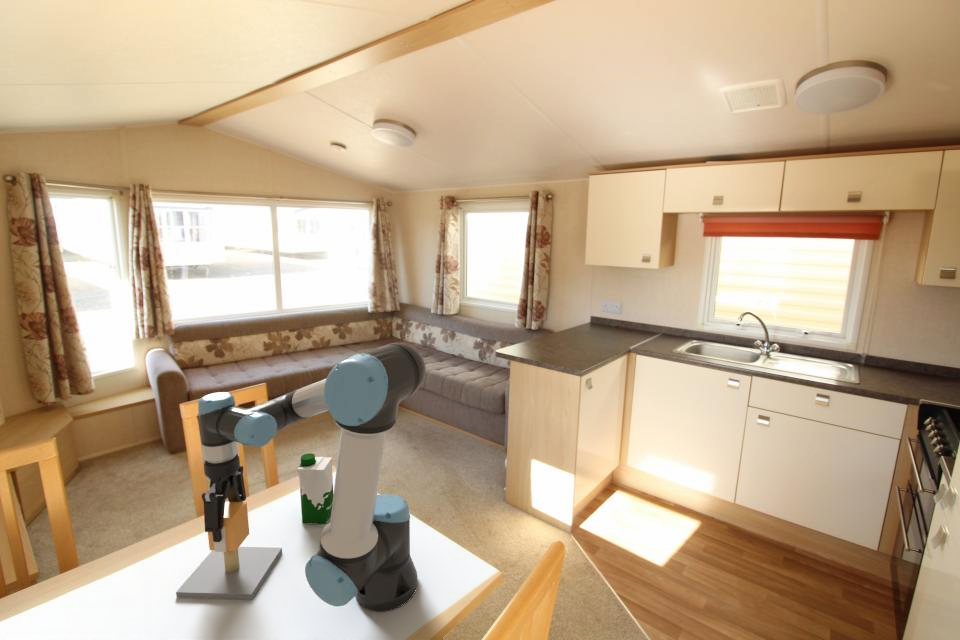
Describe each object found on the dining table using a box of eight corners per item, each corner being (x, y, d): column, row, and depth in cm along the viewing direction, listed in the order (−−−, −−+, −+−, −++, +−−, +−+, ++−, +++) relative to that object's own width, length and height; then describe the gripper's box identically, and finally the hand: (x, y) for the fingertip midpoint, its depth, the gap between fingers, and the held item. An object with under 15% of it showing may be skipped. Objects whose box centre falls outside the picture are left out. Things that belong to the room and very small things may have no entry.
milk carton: (309, 507, 142) (305, 449, 138) (337, 508, 142) (334, 450, 138) (297, 525, 133) (293, 463, 129) (328, 526, 133) (324, 464, 129)
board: (282, 552, 122) (280, 526, 120) (251, 599, 106) (249, 570, 105) (216, 551, 122) (213, 524, 120) (176, 597, 106) (172, 568, 105)
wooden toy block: (249, 533, 115) (246, 502, 114) (235, 550, 109) (232, 517, 107) (224, 533, 116) (221, 501, 114) (209, 550, 109) (206, 517, 108)
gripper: (228, 437, 118) (235, 516, 122) (178, 477, 98) (189, 568, 103) (257, 438, 117) (263, 517, 122) (212, 478, 98) (221, 569, 103)
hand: (229, 540), depth 112 cm, fingers closed on wooden toy block, 6 cm apart
